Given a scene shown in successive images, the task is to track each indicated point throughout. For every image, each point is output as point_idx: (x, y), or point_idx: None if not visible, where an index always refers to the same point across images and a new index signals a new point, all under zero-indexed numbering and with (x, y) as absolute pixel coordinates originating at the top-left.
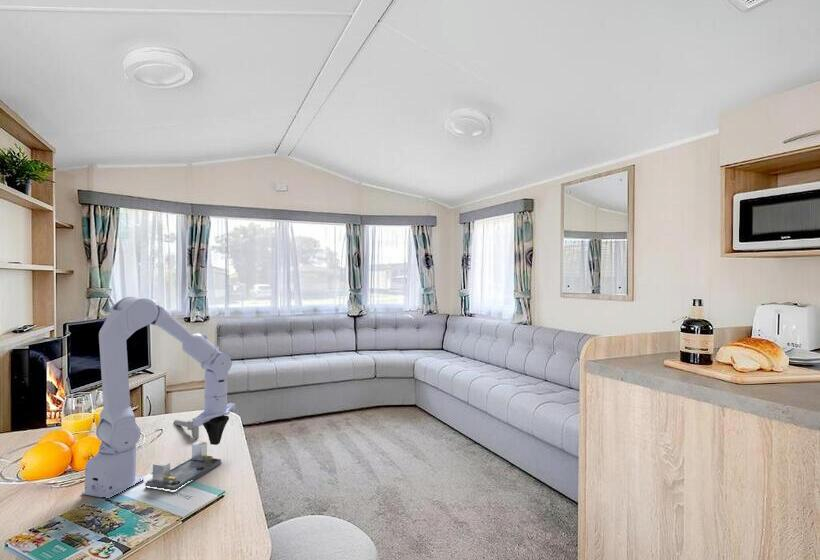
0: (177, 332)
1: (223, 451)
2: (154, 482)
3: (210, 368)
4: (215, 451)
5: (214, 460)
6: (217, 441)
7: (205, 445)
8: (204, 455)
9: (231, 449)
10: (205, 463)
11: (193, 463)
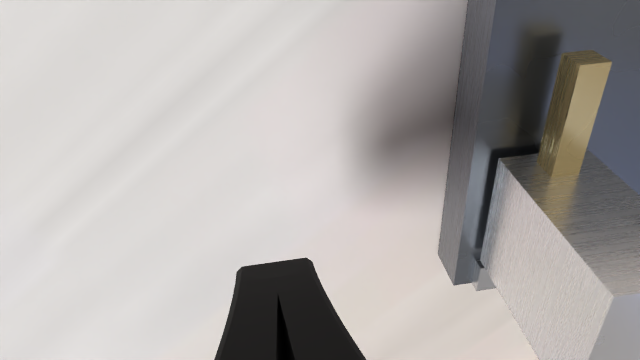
0: None
1: (145, 195)
2: None
3: None
4: (191, 258)
5: (544, 24)
6: (315, 285)
7: (627, 266)
8: (562, 176)
9: (42, 161)
10: (636, 61)
11: (630, 174)
